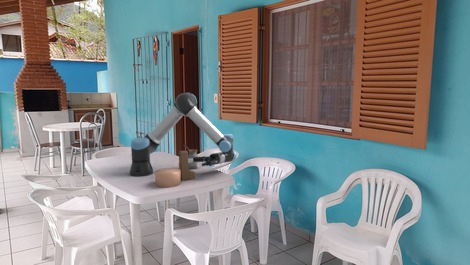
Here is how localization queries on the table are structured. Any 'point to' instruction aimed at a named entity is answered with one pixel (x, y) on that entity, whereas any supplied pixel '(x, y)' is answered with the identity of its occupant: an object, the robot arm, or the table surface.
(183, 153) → the wooden block
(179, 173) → the peach disc
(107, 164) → the table surface
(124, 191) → the table surface
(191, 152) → the coffee pot
